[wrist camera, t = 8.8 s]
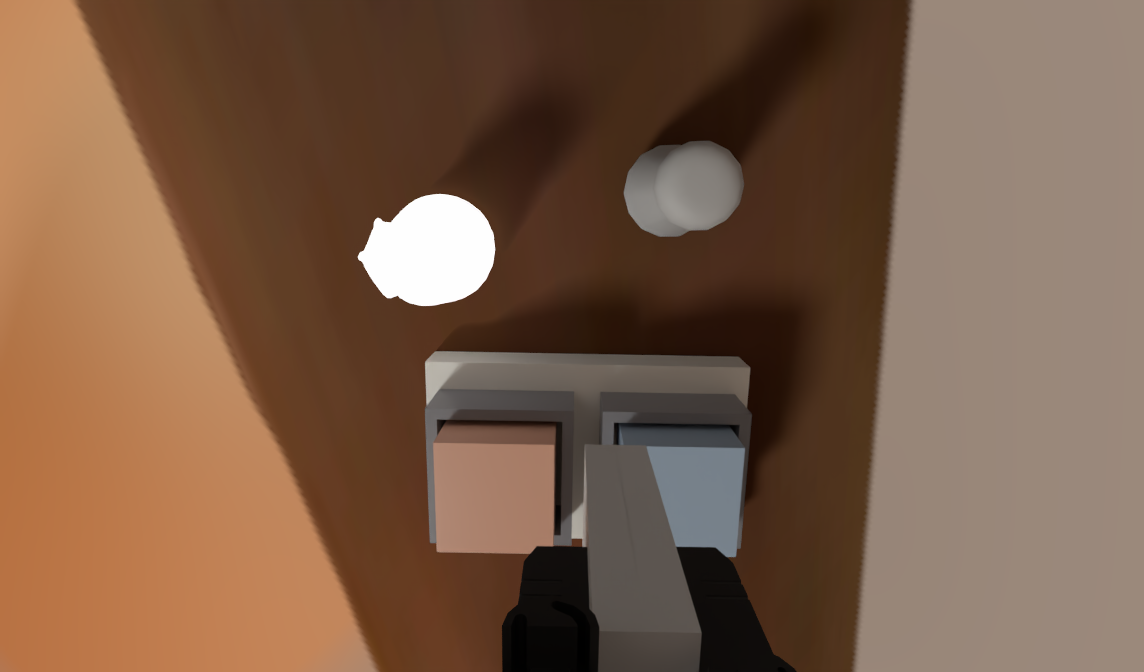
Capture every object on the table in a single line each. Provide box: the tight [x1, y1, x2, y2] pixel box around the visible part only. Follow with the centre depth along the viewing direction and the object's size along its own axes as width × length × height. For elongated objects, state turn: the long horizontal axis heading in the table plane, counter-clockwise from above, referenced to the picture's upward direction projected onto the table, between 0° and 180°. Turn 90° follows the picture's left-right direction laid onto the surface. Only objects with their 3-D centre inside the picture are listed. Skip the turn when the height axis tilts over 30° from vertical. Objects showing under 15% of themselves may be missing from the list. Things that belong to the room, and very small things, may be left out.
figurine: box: [358, 194, 495, 306], centre depth 36 cm, size 7×7×12 cm
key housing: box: [425, 351, 752, 548], centre depth 41 cm, size 13×22×7 cm, turn 89°
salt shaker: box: [624, 141, 744, 236], centre depth 34 cm, size 6×6×13 cm
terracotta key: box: [433, 420, 557, 554], centre depth 38 cm, size 7×7×5 cm
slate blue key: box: [617, 423, 745, 557], centre depth 38 cm, size 7×7×5 cm
